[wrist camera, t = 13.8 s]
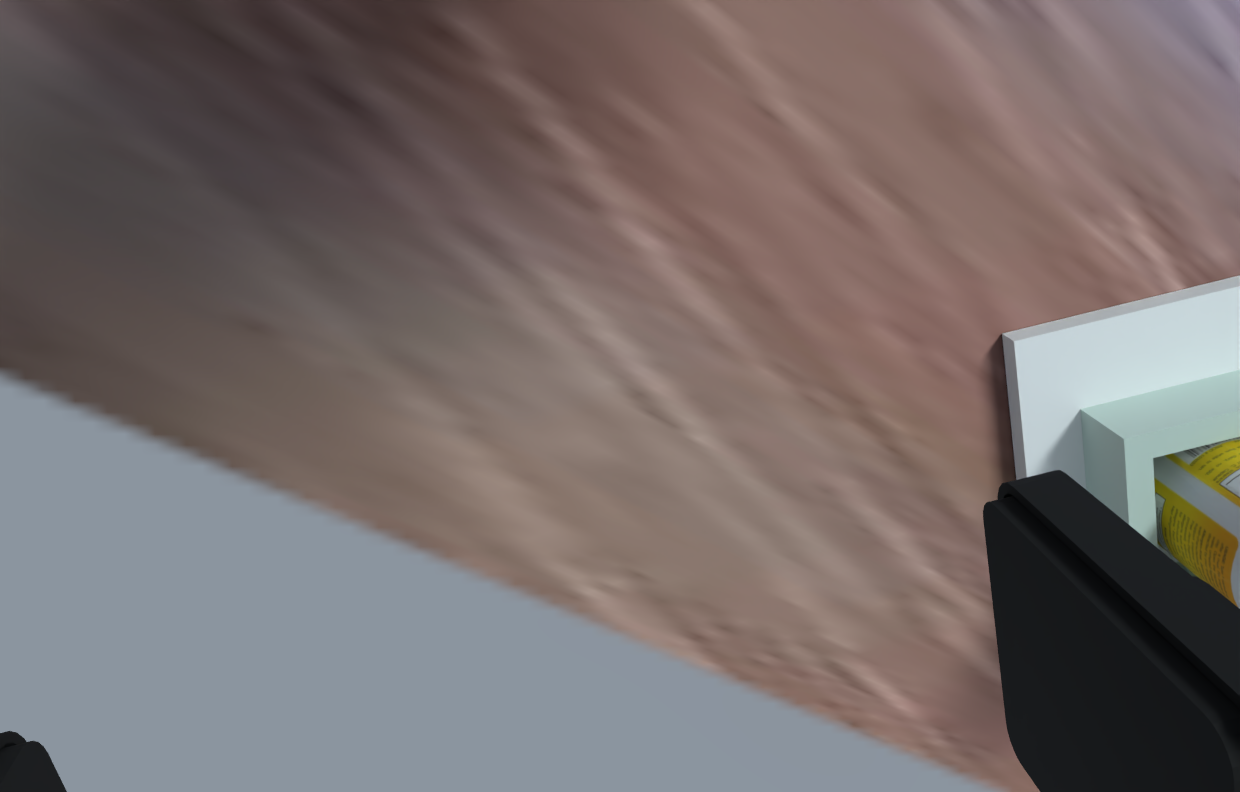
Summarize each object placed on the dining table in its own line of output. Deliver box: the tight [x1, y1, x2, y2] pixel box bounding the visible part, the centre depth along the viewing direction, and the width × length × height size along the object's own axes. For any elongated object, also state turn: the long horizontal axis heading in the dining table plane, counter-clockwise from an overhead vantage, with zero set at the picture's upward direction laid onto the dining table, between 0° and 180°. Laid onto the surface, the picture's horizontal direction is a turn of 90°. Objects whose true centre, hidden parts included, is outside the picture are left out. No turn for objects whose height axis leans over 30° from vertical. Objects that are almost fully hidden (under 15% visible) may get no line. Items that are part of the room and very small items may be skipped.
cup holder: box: [1002, 275, 1240, 579], centre depth 42 cm, size 15×13×4 cm
